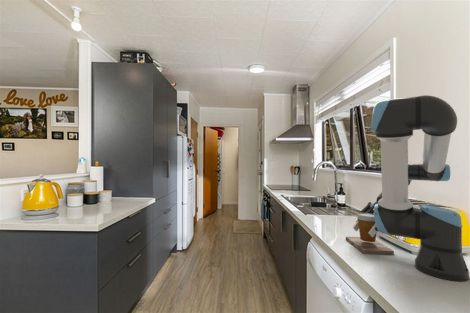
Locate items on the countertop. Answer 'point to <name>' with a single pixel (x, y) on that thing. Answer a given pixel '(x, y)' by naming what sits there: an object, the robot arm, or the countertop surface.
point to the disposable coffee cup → (366, 226)
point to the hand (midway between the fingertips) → (362, 232)
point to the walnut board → (369, 246)
